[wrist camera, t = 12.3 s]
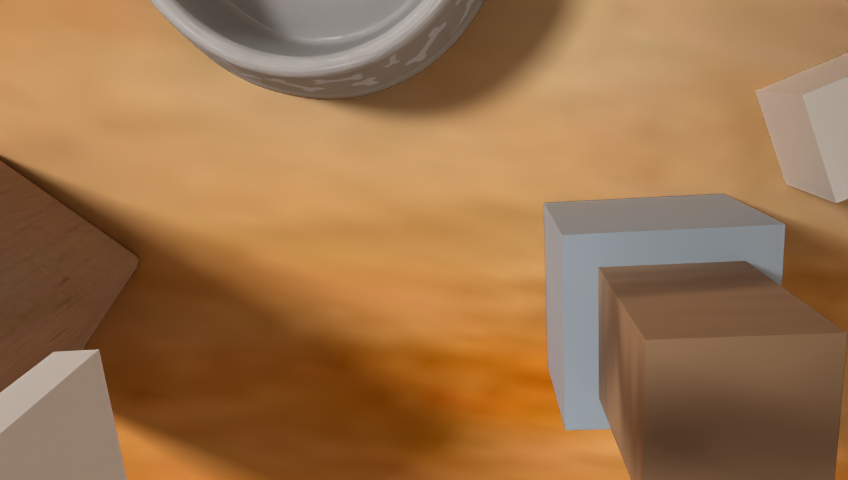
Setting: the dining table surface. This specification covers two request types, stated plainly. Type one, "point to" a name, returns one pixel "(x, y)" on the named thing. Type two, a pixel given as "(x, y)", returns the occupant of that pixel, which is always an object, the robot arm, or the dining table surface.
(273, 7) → the dog bowl
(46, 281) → the wooden block
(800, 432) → the walnut block
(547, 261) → the slate block
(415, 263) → the dining table surface
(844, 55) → the grey cube
